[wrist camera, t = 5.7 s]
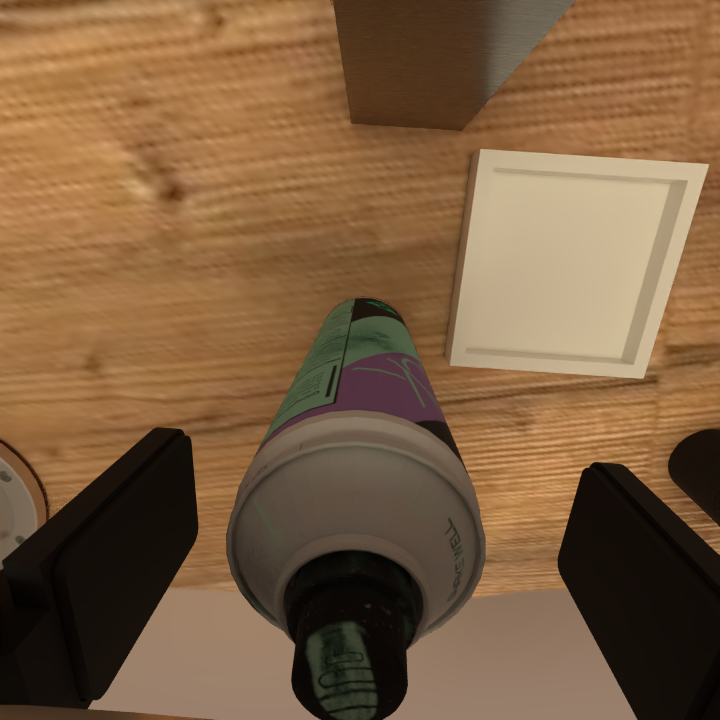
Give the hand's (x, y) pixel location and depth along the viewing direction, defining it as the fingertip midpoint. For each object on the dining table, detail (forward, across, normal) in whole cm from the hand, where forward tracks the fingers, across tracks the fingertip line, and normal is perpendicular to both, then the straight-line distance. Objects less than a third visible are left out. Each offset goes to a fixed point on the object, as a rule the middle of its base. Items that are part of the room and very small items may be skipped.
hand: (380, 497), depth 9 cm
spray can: (+16, +1, 0) cm, 16 cm away
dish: (+16, -10, -5) cm, 20 cm away
